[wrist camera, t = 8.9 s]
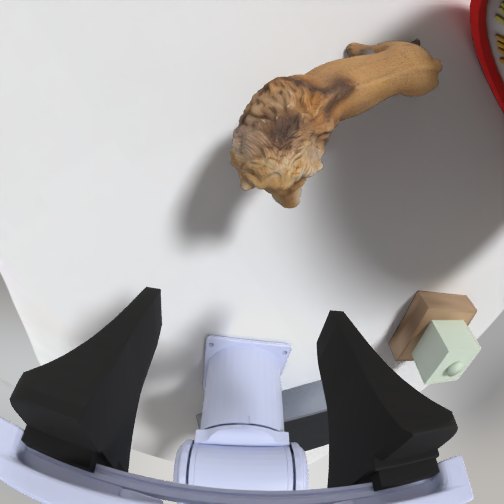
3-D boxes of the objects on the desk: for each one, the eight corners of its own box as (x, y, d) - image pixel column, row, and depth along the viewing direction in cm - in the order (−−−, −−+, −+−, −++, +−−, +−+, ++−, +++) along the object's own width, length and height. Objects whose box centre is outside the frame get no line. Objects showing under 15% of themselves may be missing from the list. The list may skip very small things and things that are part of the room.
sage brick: (443, 351, 26) (459, 383, 22) (411, 353, 26) (426, 388, 22) (463, 320, 24) (483, 352, 20) (431, 320, 24) (451, 355, 20)
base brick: (436, 343, 29) (444, 359, 27) (388, 343, 29) (395, 361, 26) (466, 295, 26) (477, 310, 23) (417, 290, 25) (428, 307, 23)
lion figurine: (268, 180, 20) (278, 245, 13) (217, 119, 18) (190, 144, 10) (432, 71, 16) (520, 79, 8) (392, 7, 13) (469, -22, 6)
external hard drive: (192, 409, 36) (189, 435, 33) (335, 368, 31) (341, 398, 28) (242, 443, 42) (241, 465, 38) (360, 412, 37) (365, 436, 34)
